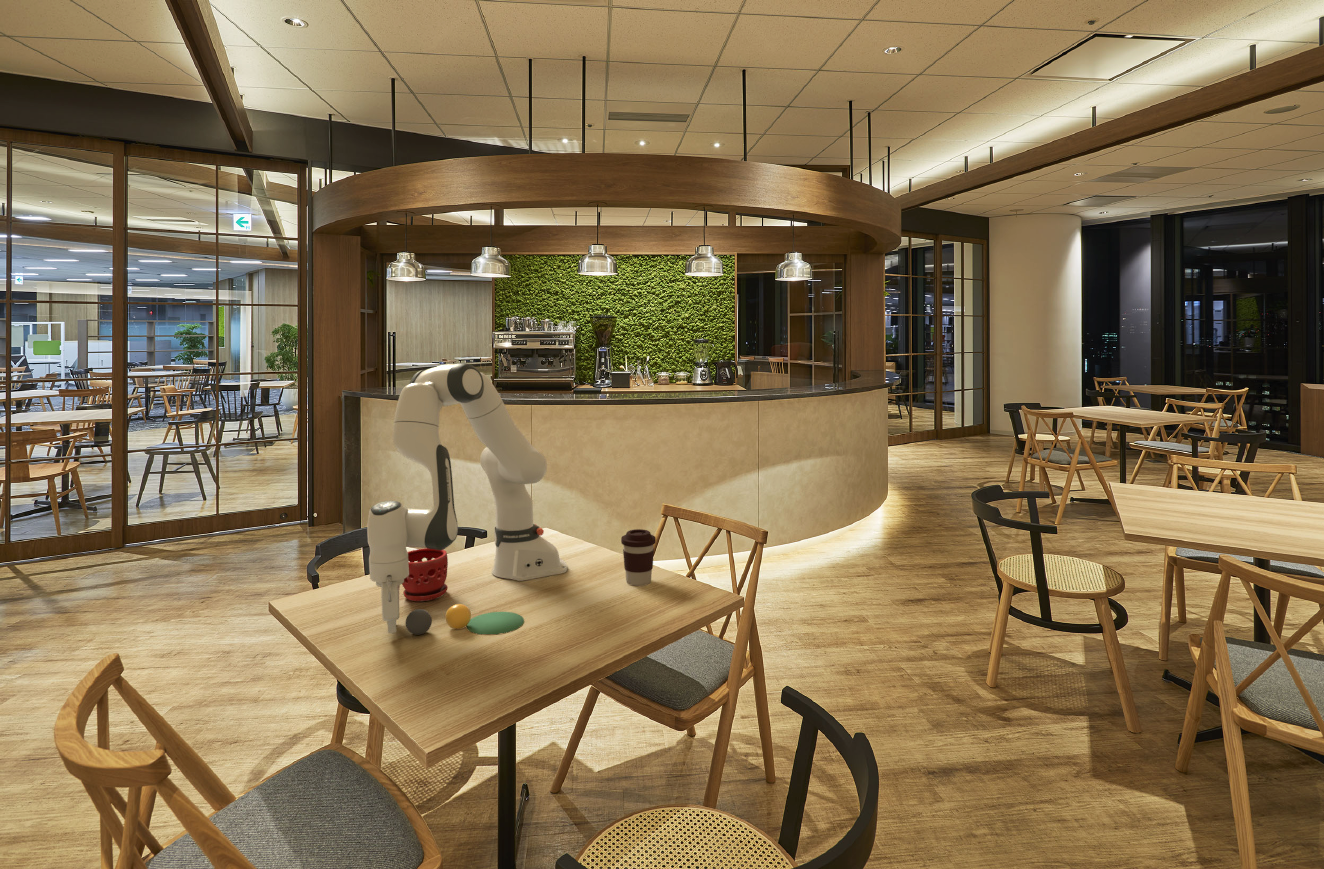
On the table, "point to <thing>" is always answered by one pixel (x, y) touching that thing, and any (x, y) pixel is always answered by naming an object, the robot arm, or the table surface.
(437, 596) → the plant pot
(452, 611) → the orange ball
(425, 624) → the dark grey sphere
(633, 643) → the table surface
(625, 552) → the coffee cup
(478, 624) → the green mark
